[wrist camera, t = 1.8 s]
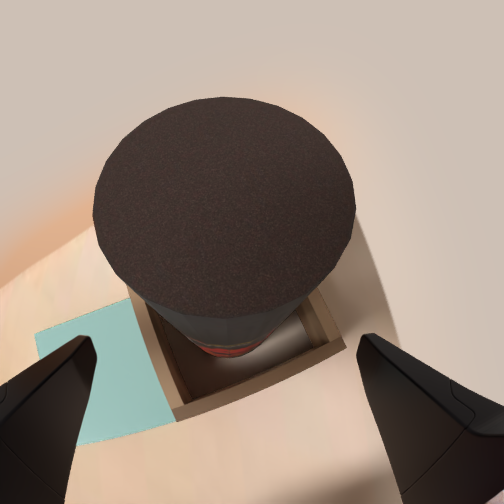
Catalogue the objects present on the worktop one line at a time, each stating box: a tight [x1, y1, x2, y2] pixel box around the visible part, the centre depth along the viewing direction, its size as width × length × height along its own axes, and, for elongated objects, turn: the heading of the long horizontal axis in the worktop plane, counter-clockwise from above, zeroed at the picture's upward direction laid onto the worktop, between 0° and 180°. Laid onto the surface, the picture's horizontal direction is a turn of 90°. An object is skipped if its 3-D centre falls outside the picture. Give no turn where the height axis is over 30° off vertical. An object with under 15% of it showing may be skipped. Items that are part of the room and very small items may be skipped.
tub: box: [126, 284, 347, 422], centre depth 18 cm, size 11×11×4 cm
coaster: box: [34, 298, 176, 446], centre depth 17 cm, size 9×9×1 cm
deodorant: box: [93, 97, 356, 358], centre depth 13 cm, size 6×6×15 cm
